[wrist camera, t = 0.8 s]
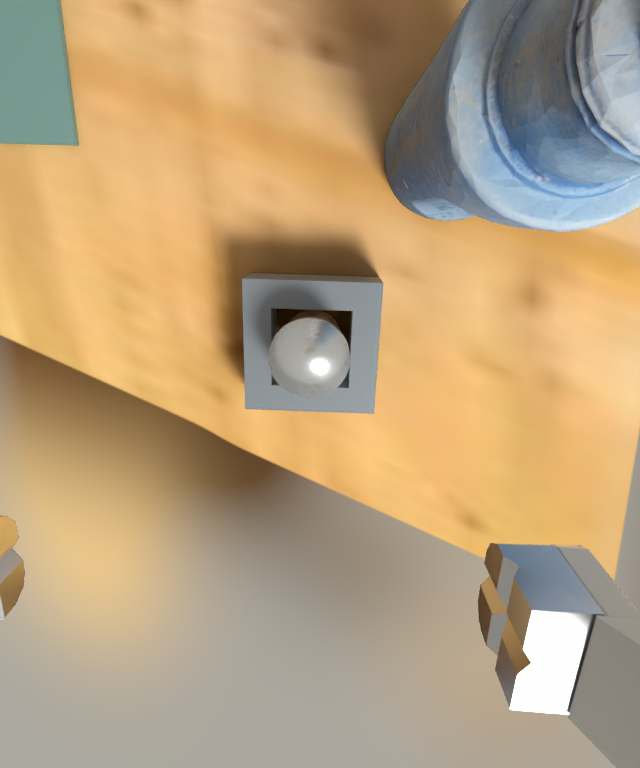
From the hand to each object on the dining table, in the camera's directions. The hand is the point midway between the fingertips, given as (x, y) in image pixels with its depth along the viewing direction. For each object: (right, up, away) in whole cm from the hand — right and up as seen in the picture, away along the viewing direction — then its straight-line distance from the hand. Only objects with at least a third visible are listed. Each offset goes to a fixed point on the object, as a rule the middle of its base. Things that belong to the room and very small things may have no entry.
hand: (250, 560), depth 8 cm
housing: (+1, +7, +34) cm, 35 cm away
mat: (-23, +27, +28) cm, 45 cm away
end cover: (+1, +7, +34) cm, 35 cm away
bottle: (+11, +21, +29) cm, 38 cm away
